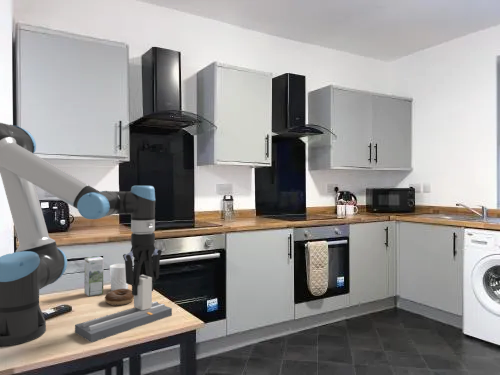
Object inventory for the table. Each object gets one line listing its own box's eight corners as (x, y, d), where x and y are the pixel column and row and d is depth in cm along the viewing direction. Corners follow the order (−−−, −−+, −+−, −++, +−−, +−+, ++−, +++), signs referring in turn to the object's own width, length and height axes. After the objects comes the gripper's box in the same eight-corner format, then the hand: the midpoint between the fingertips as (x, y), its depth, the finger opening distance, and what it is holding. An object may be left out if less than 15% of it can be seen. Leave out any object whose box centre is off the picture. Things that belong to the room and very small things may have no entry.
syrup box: (99, 290, 152) (99, 255, 151) (103, 294, 147) (103, 258, 147) (84, 293, 148) (84, 257, 148) (88, 297, 143) (88, 259, 143)
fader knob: (133, 309, 122) (133, 276, 122) (143, 307, 125) (143, 274, 125) (142, 313, 119) (142, 278, 119) (151, 310, 122) (151, 276, 122)
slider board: (74, 332, 110) (74, 321, 110) (154, 308, 131) (154, 299, 131) (91, 342, 104) (91, 330, 104) (171, 315, 125) (171, 305, 125)
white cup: (123, 292, 149) (123, 268, 149) (105, 291, 151) (105, 267, 151) (133, 287, 157) (133, 264, 157) (116, 286, 159) (116, 262, 158)
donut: (124, 295, 146) (124, 285, 146) (140, 301, 140) (140, 290, 140) (99, 302, 138) (99, 292, 138) (115, 308, 131) (115, 297, 131)
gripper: (126, 236, 113) (126, 312, 113) (170, 231, 125) (170, 299, 126) (113, 233, 118) (113, 306, 118) (157, 228, 130) (157, 295, 131)
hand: (142, 302), depth 122 cm, fingers closed on fader knob, 3 cm apart
